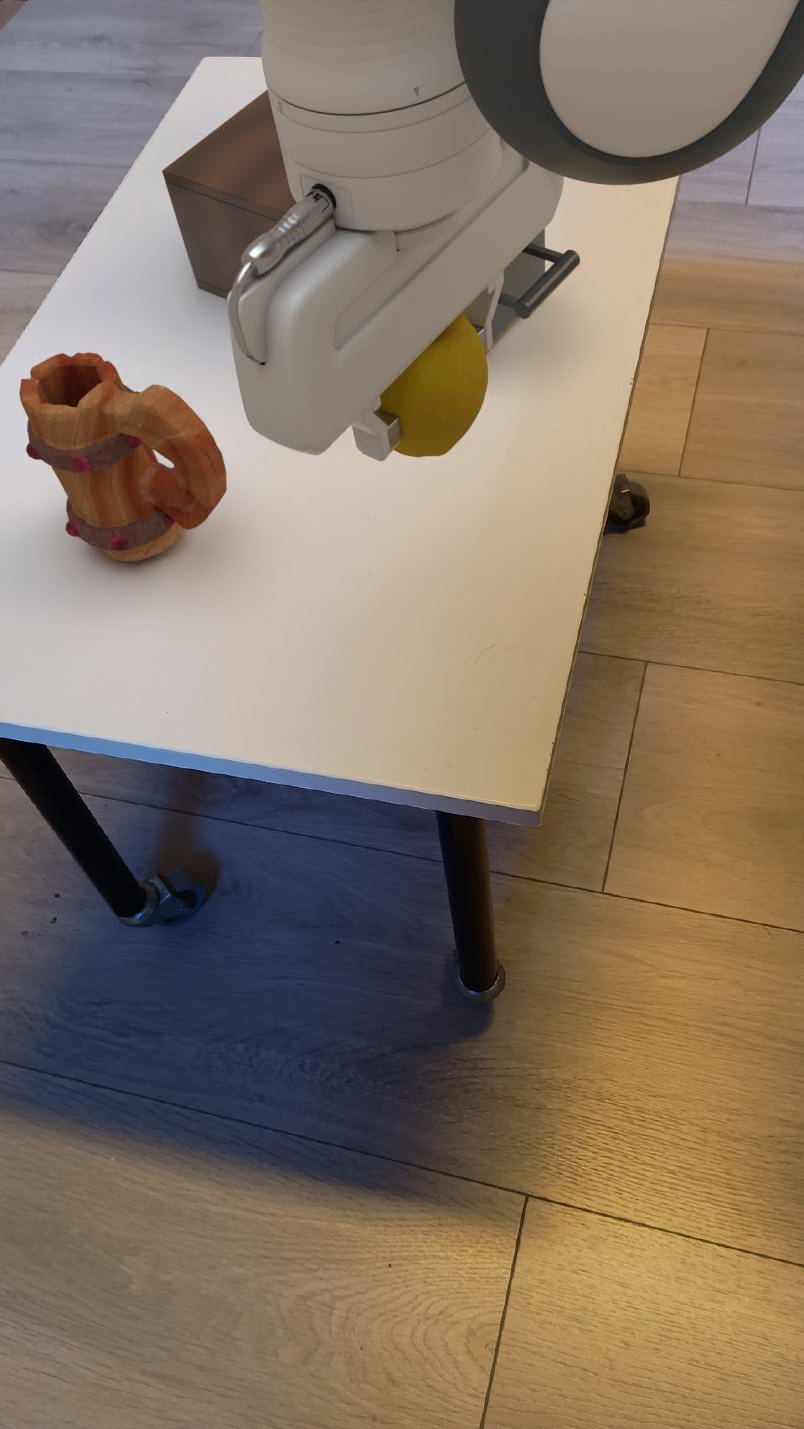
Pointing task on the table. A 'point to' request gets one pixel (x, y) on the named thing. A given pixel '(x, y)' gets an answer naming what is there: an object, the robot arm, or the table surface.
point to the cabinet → (229, 193)
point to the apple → (439, 392)
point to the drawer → (531, 281)
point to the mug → (121, 455)
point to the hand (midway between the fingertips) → (427, 399)
